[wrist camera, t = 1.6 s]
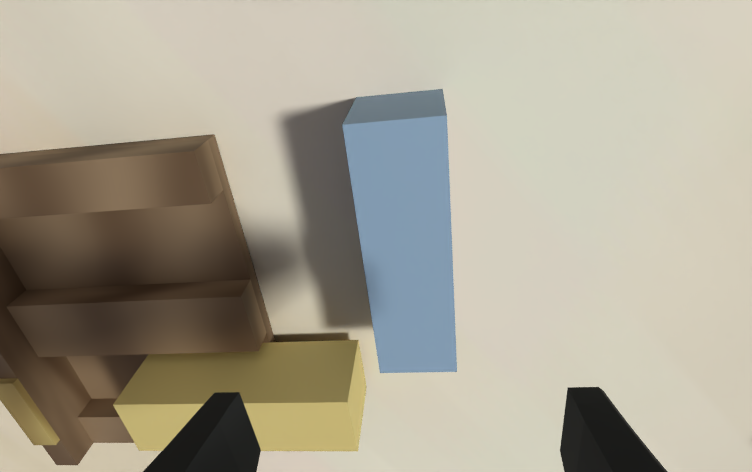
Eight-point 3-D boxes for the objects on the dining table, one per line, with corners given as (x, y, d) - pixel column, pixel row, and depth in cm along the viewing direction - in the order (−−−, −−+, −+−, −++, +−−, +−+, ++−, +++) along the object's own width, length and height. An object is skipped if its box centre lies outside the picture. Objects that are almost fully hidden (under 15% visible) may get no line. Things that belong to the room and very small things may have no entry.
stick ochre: (357, 340, 21) (347, 402, 18) (366, 386, 23) (357, 451, 20) (154, 345, 22) (112, 404, 19) (174, 389, 24) (139, 450, 21)
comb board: (214, 134, 17) (172, 168, 14) (296, 413, 25) (279, 472, 22) (-63, 160, 19) (-152, 195, 16) (93, 414, 26) (52, 470, 24)
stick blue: (452, 313, 21) (456, 371, 18) (386, 315, 21) (380, 372, 18) (442, 87, 16) (446, 115, 13) (356, 95, 16) (342, 124, 13)
